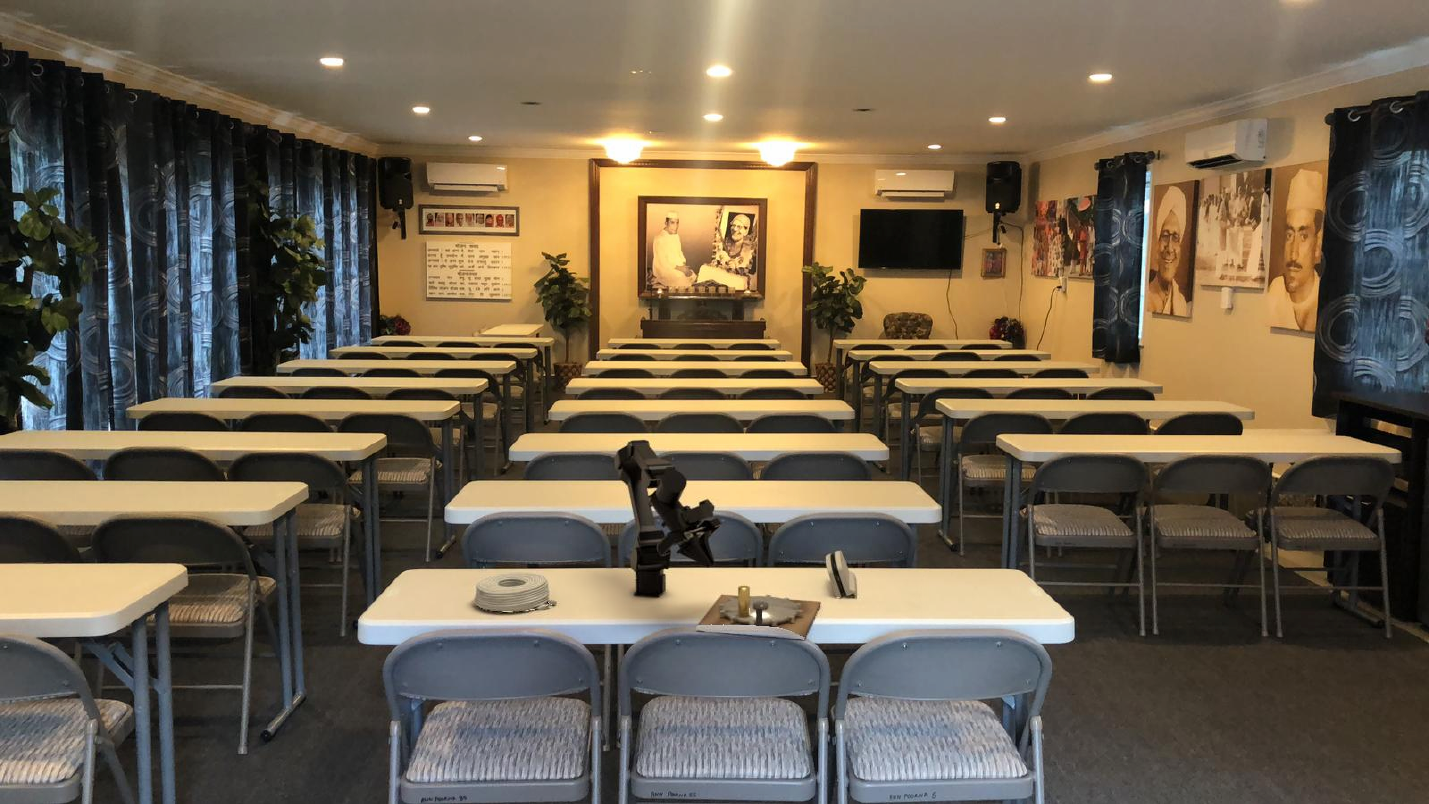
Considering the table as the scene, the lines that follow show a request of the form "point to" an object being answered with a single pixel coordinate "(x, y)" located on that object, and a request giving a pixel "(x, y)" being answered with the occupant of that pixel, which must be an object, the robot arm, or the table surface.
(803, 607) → the index board
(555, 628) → the table surface
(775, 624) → the sprocket
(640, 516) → the robot arm
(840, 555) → the beige layered block
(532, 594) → the cable
